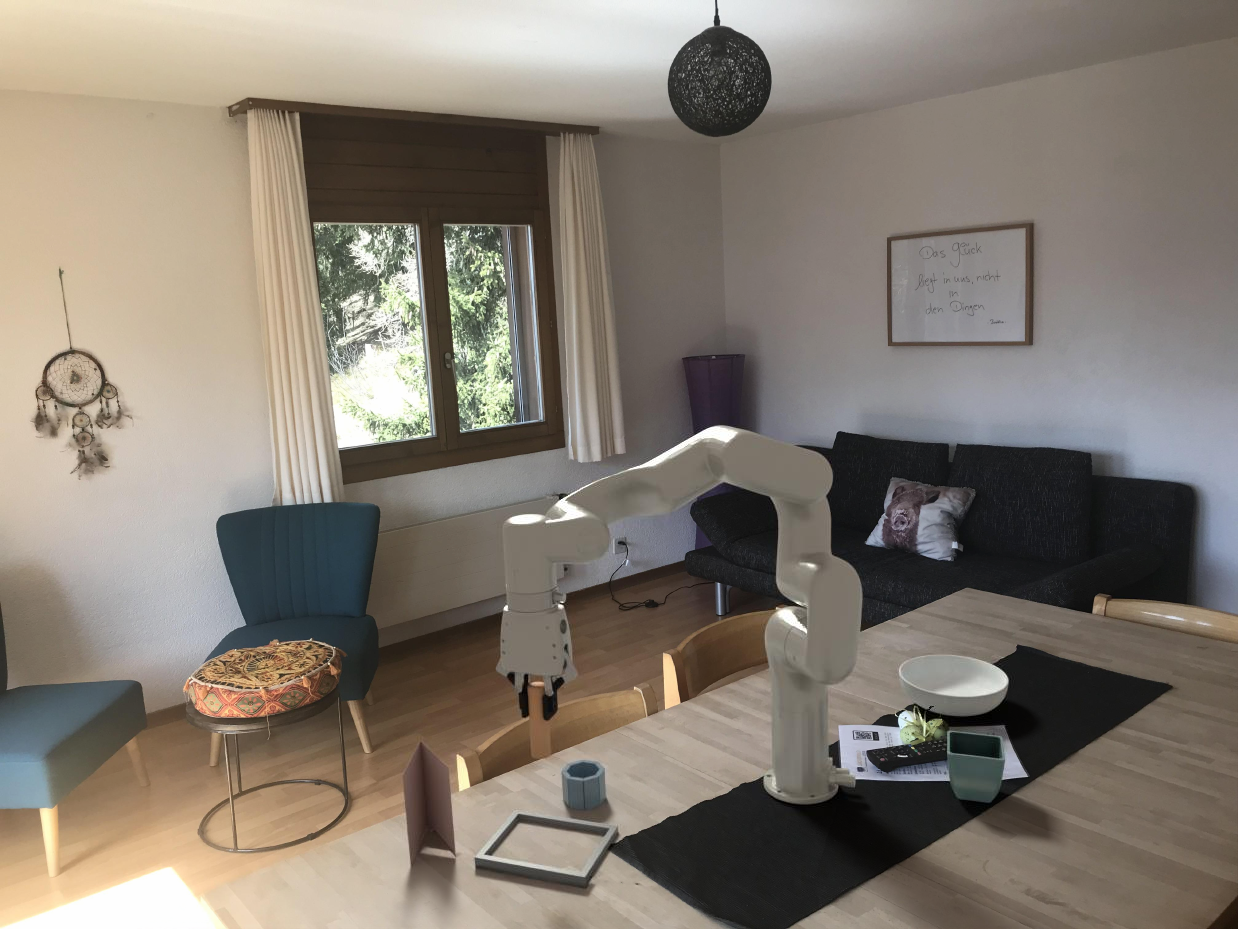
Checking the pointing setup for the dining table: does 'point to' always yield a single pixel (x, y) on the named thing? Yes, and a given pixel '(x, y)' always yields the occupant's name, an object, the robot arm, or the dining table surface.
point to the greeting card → (427, 798)
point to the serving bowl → (953, 684)
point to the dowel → (538, 722)
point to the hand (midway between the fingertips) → (539, 714)
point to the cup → (583, 784)
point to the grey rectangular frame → (543, 871)
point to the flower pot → (975, 765)
